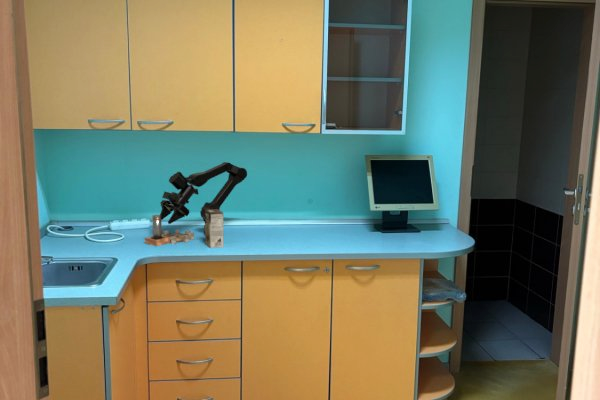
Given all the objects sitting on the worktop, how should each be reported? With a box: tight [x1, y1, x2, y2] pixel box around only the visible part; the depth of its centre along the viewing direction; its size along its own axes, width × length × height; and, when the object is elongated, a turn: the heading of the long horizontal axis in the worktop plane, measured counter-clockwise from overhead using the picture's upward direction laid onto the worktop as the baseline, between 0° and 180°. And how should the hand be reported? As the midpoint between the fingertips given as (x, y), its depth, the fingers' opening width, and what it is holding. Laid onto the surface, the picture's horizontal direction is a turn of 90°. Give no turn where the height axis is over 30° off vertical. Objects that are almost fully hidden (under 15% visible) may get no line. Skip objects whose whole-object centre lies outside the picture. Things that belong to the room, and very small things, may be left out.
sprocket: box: [144, 229, 195, 247], centre depth 277 cm, size 23×17×3 cm
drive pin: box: [151, 214, 163, 240], centre depth 270 cm, size 4×4×13 cm
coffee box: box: [204, 209, 224, 249], centre depth 266 cm, size 9×6×16 cm
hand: (163, 221), depth 272 cm, fingers open, 9 cm apart
